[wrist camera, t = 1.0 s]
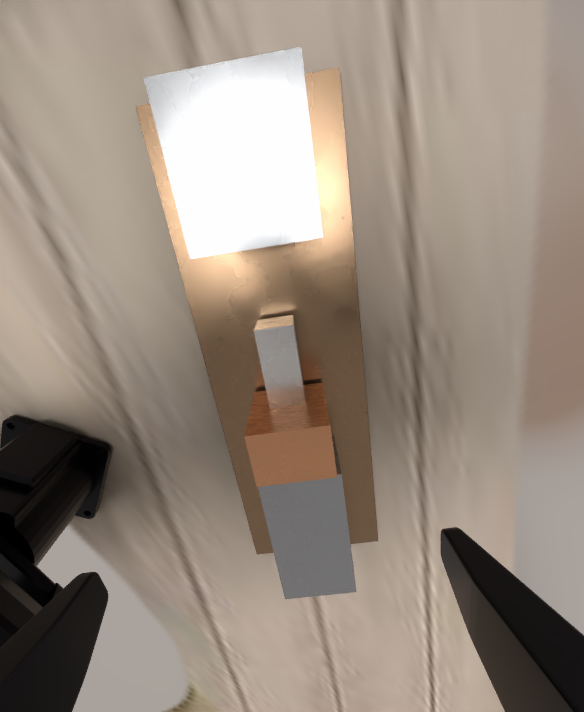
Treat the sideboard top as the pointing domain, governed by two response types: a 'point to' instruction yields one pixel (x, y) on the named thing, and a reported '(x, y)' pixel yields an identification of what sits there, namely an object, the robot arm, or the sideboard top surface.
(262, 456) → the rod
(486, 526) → the sideboard top surface
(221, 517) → the sideboard top surface
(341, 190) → the tube base
